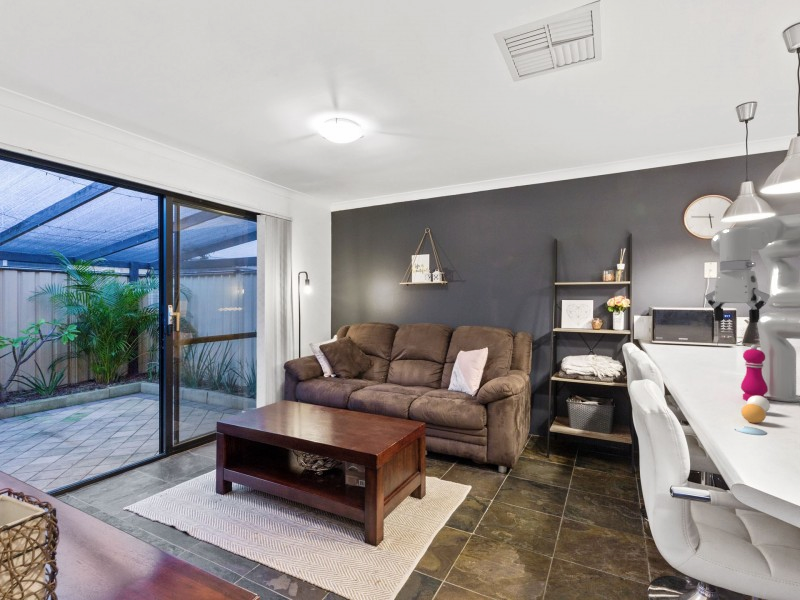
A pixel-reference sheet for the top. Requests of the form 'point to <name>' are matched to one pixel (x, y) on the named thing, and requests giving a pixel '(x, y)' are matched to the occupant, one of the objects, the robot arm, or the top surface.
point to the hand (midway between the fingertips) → (735, 321)
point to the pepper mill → (753, 374)
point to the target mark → (752, 430)
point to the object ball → (753, 413)
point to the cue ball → (759, 402)
